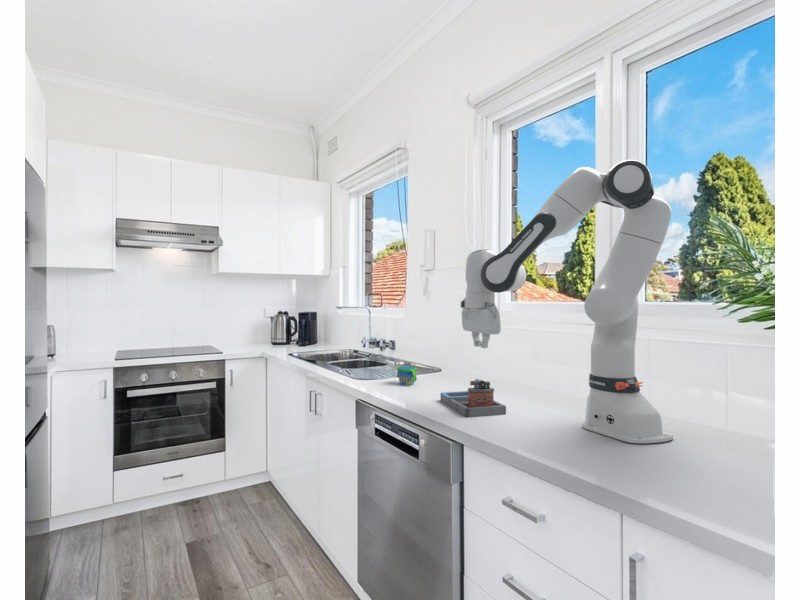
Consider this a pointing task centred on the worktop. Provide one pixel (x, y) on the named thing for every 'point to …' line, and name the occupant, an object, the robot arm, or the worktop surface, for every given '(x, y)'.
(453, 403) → the divider tray
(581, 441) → the worktop surface
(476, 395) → the lighter
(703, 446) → the worktop surface
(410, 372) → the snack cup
